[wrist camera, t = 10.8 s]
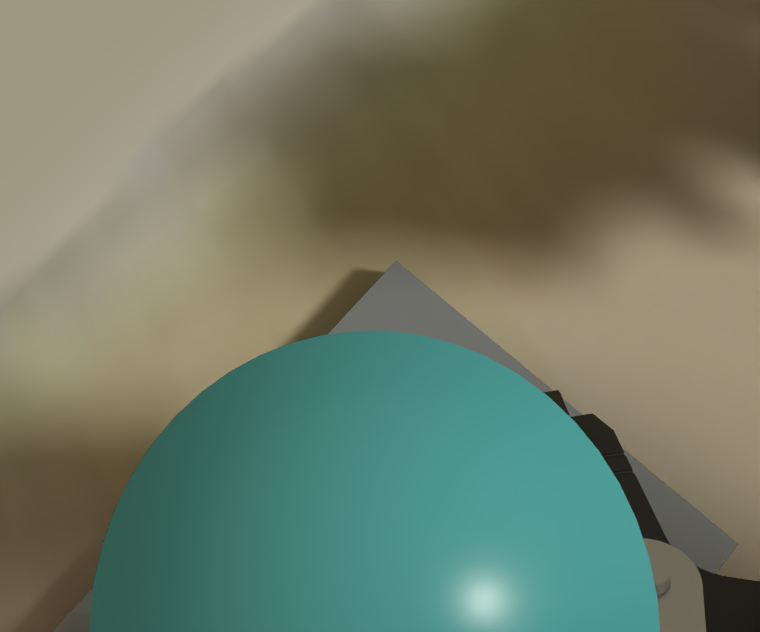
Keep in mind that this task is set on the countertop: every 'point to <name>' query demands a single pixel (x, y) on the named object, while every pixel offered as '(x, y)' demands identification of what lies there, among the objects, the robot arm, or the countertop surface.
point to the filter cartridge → (373, 504)
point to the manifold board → (441, 321)
